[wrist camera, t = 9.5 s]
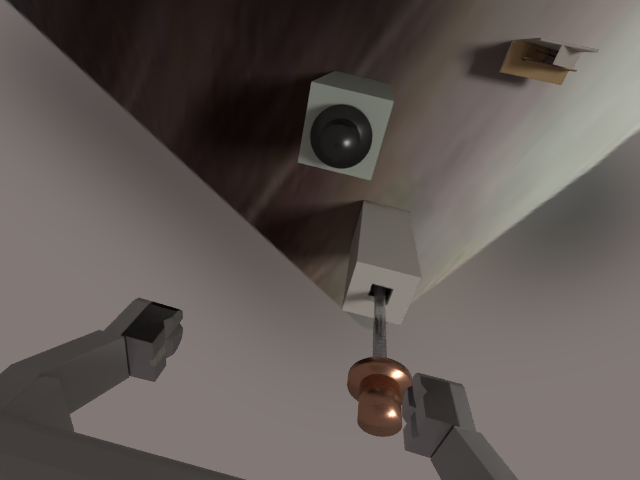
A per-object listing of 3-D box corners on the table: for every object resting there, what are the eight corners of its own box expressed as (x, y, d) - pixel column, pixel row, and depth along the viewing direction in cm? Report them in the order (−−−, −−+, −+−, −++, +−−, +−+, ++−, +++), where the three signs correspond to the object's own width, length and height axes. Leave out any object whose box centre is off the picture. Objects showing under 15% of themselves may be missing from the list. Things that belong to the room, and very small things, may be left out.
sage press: (389, 83, 42) (393, 101, 28) (373, 138, 46) (370, 180, 31) (335, 70, 43) (311, 81, 28) (323, 126, 46) (297, 162, 32)
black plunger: (380, 92, 40) (380, 120, 24) (368, 136, 43) (361, 187, 27) (337, 82, 40) (309, 103, 24) (328, 126, 43) (298, 171, 27)
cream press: (409, 211, 50) (421, 277, 36) (395, 250, 54) (400, 325, 39) (363, 200, 51) (357, 261, 36) (352, 239, 54) (341, 309, 39)
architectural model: (548, 82, 40) (580, 88, 34) (490, 70, 41) (511, 74, 34) (564, 50, 39) (601, 50, 32) (503, 37, 39) (528, 35, 32)
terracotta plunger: (408, 265, 39) (427, 411, 23) (394, 299, 42) (403, 451, 26) (364, 254, 39) (353, 392, 23) (353, 288, 42) (337, 433, 26)
